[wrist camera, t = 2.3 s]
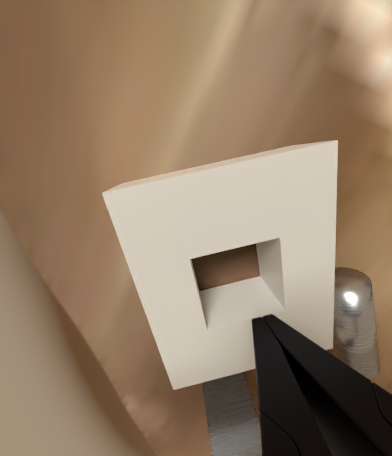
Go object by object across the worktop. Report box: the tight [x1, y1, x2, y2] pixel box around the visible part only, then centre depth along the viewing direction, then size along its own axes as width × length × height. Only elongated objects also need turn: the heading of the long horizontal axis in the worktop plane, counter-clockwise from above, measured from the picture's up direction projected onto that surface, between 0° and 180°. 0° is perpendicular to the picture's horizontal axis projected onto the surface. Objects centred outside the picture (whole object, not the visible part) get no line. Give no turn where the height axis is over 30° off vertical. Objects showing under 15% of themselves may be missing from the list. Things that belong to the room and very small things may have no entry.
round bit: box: [332, 267, 380, 379], centre depth 15 cm, size 8×3×3 cm
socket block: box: [102, 140, 338, 390], centre depth 12 cm, size 12×10×4 cm
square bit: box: [202, 372, 262, 456], centre depth 13 cm, size 3×3×8 cm
